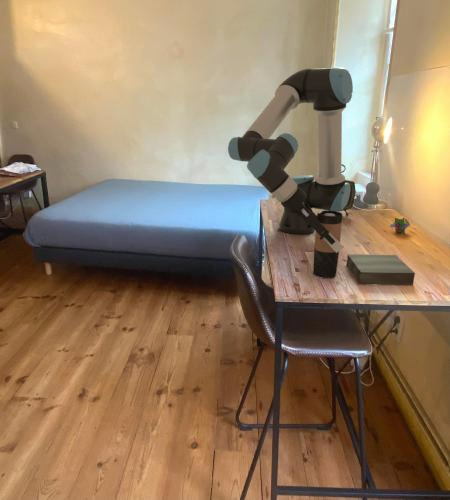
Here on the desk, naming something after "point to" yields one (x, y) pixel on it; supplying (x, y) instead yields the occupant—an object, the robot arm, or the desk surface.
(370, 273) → the stand
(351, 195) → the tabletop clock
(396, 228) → the geometric puzzle
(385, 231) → the desk surface
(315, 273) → the travel mug
